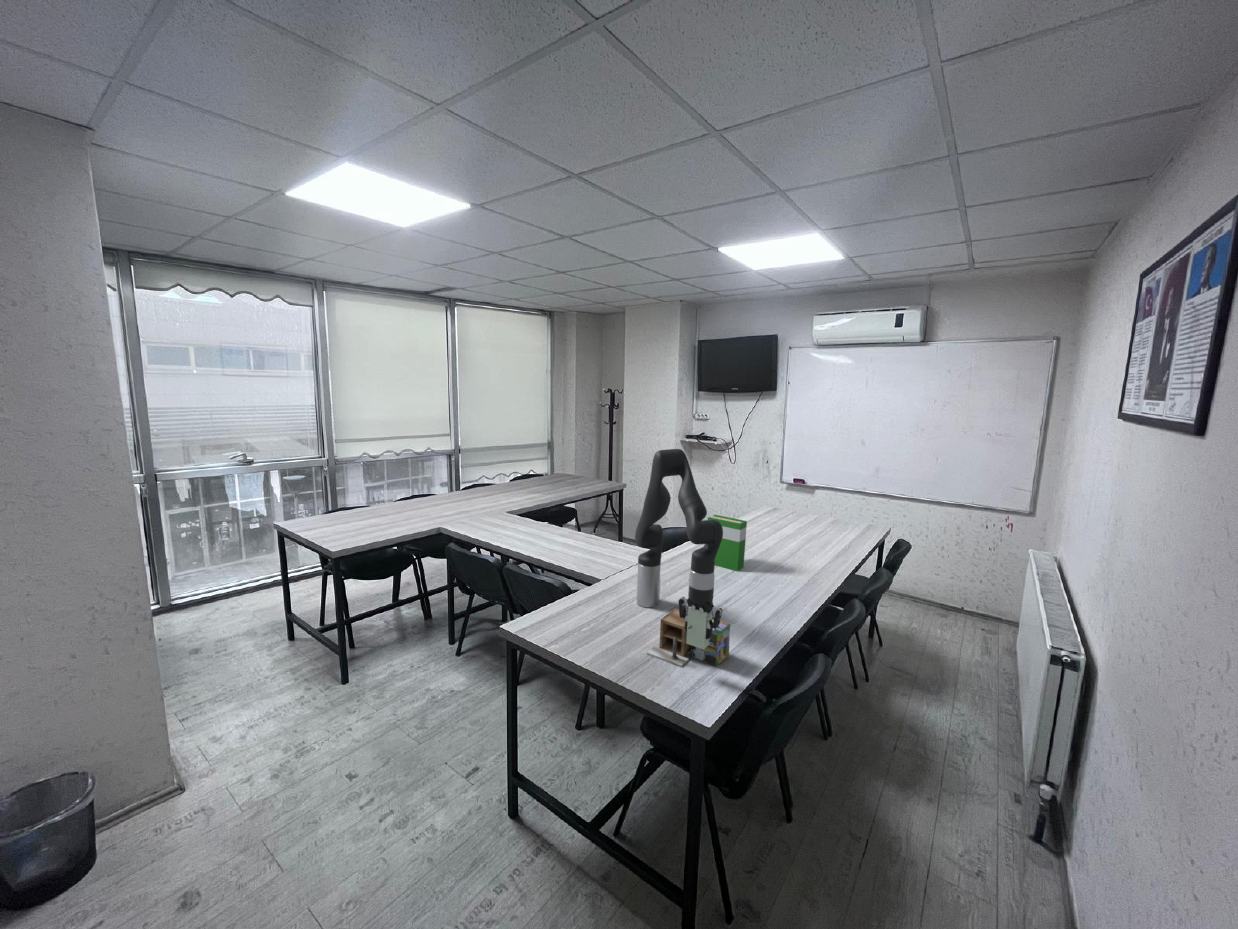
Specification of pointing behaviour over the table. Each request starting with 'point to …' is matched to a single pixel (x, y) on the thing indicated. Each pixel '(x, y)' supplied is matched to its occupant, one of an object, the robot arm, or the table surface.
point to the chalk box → (715, 646)
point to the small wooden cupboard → (672, 640)
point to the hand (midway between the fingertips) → (698, 634)
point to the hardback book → (731, 543)
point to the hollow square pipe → (697, 628)
